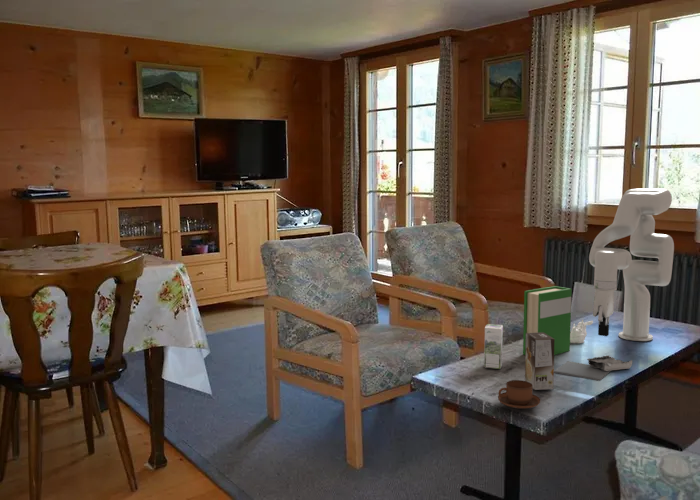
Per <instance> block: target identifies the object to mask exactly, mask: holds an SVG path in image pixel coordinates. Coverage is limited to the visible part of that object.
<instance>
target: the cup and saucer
mask: <svg viewBox="0 0 700 500" xmlns="http://www.w3.org/2000/svg"><path fill="white" fill-rule="evenodd" d="M505 385H506V387H502V388H500V389H499V390H498V395H497V399H498V401H499V402H500V404H502V405H504V406H505V407H506V406H507V407H509V408H513V409H518V410H519V409H520V410H522V409H523V410H525V409H527V410H528V409H533V408H536V407H537V406H538V405H540V403H541V400H542V399H541V398H540V397H539V396H538V395H536V394H533V388H532V387H533V385H532V384H531V383H529V382H527V381H525V380H521V379H520V380H519V379H517V380H516V379H515V380H514V379H513V380H508V381H507V382H506V384H505ZM503 391H504V392H503ZM501 392H502V393H501Z"/></svg>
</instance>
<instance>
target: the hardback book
mask: <svg viewBox="0 0 700 500" xmlns="http://www.w3.org/2000/svg"><path fill="white" fill-rule="evenodd" d="M572 291H573V289H572V288H569V287H564V286H563V287H562V286H557V285H553V286H549V287H540V288H533V289H528V290H524V291H523V292H524V294H523V299H524V300H523V302H524V303H523V329H522V330H523V332H522V333H523V337H522V338H523V339H522V355H524V356H525V354H526V333H536V332H544V333H546V334H547V335H549V336H550V337H552V338H554V339H555V344H554V356H557V355H560V354H564V353H567V352H570V350H571V346H570V345H571V343H570V332H571V322H572V319H571V318H572V295H573V293H572Z"/></svg>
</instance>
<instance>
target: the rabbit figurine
mask: <svg viewBox="0 0 700 500" xmlns="http://www.w3.org/2000/svg"><path fill="white" fill-rule="evenodd" d="M593 323H594V320H589V321H585V322H584V319H581V321H579V322H578V323H577V325H575V324H576V323H573V325H572V328H571V330H570V344H583V343H585V339H586V337H587V334H588V333H587V326H591V325H593Z"/></svg>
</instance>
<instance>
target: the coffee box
mask: <svg viewBox="0 0 700 500" xmlns="http://www.w3.org/2000/svg"><path fill="white" fill-rule="evenodd" d="M554 344H555V339H554V338H552V337H550V336H549V335H547V334H546V333H544V332H536V333H526V354H525V355H524V356H525V361H524V363H525V367H524V368H525V369H524V381H527V382H529V383H531V384H532V385H533V387H532V390H534V391H537V390H539V391H540V390H554V377H555V373H554V371H555V355H554Z"/></svg>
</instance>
